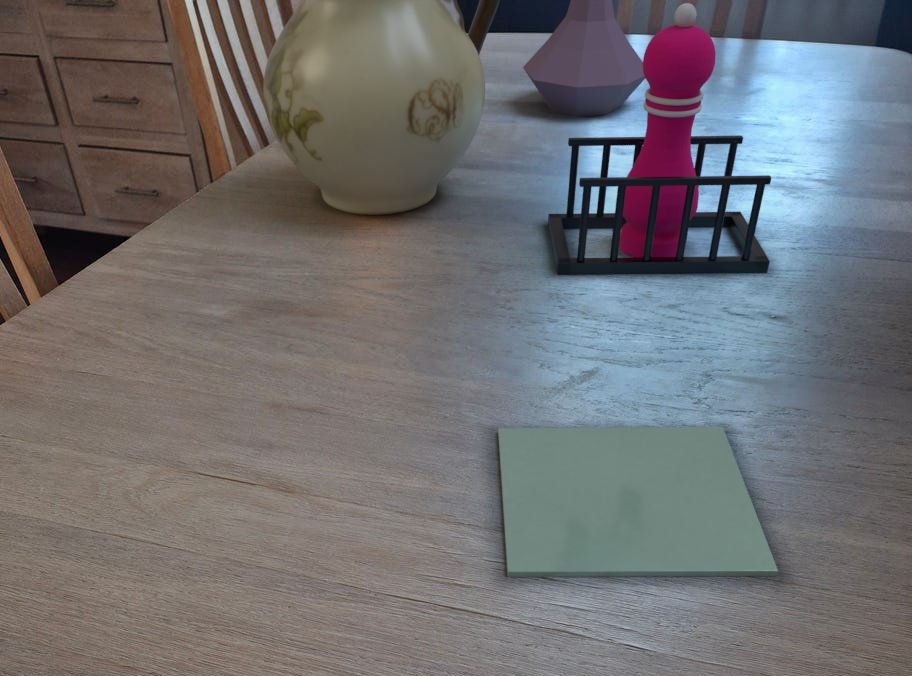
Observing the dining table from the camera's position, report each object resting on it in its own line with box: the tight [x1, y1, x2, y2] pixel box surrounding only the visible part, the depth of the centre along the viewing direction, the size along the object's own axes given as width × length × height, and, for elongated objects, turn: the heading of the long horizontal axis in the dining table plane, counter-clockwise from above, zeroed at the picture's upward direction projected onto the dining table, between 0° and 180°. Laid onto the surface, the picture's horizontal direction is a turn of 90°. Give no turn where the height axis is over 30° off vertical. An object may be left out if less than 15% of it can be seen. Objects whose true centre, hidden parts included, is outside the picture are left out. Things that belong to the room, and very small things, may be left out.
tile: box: [497, 426, 779, 578], centre depth 62 cm, size 16×16×1 cm
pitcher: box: [262, 0, 501, 216], centre depth 95 cm, size 22×24×25 cm
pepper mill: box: [619, 2, 717, 257], centre depth 85 cm, size 7×7×20 cm
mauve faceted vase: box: [522, 0, 646, 118], centre depth 119 cm, size 16×16×20 cm
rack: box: [547, 135, 772, 276], centre depth 89 cm, size 19×12×8 cm, turn 89°
